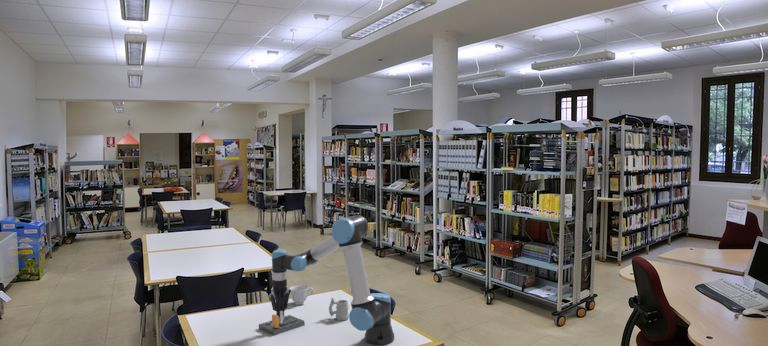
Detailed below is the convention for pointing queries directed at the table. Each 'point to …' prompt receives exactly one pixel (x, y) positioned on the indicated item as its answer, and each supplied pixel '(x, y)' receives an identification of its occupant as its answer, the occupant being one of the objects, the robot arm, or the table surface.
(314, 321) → the table surface
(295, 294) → the teacup
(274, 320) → the fader orange
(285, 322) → the console
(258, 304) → the table surface
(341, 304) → the mug
